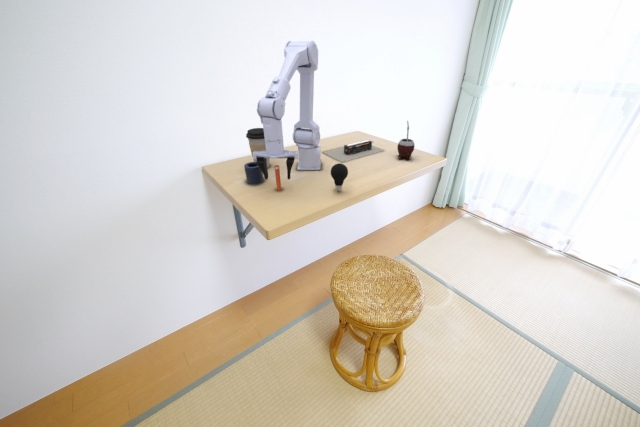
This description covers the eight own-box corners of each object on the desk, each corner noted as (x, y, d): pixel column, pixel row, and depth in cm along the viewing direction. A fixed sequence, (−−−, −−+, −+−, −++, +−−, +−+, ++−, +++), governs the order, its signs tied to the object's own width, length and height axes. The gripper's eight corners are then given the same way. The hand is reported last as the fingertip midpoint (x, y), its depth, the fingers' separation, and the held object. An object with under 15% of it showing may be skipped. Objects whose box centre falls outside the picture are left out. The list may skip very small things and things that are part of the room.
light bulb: (334, 196, 87) (335, 168, 82) (327, 188, 92) (327, 162, 87) (350, 192, 89) (351, 165, 84) (342, 185, 94) (343, 159, 88)
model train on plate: (382, 150, 125) (383, 142, 123) (341, 162, 113) (342, 152, 111) (362, 143, 135) (363, 134, 133) (323, 152, 123) (323, 143, 121)
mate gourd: (405, 162, 113) (411, 126, 105) (391, 156, 118) (396, 123, 110) (415, 158, 116) (422, 124, 108) (401, 153, 122) (407, 120, 114)
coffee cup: (269, 171, 105) (264, 134, 97) (247, 170, 106) (241, 133, 98) (276, 163, 113) (273, 128, 104) (256, 161, 114) (251, 126, 106)
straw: (281, 188, 92) (279, 164, 87) (281, 190, 91) (278, 166, 86) (277, 188, 92) (274, 164, 88) (276, 190, 91) (274, 166, 86)
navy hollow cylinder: (264, 177, 100) (262, 161, 97) (261, 184, 95) (259, 168, 92) (249, 177, 100) (246, 161, 97) (245, 184, 95) (242, 168, 92)
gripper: (248, 142, 79) (254, 183, 86) (295, 142, 78) (297, 183, 86) (253, 136, 85) (258, 174, 92) (297, 136, 84) (299, 174, 92)
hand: (277, 178), depth 89 cm, fingers open, 7 cm apart
